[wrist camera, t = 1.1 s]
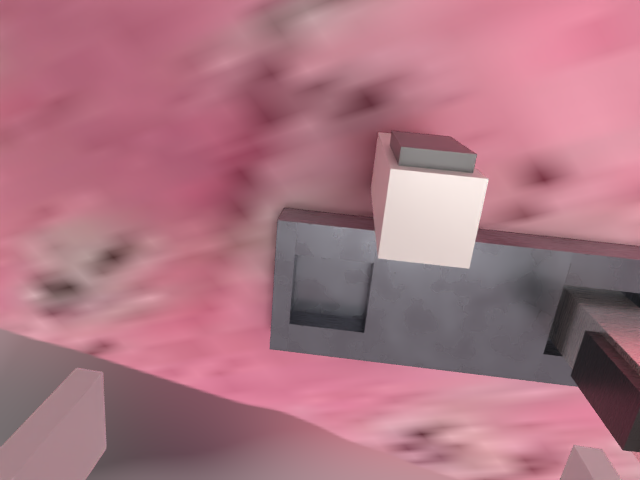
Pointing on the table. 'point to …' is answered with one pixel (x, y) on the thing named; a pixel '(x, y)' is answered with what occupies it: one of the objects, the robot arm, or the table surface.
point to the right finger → (426, 199)
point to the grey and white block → (468, 309)
